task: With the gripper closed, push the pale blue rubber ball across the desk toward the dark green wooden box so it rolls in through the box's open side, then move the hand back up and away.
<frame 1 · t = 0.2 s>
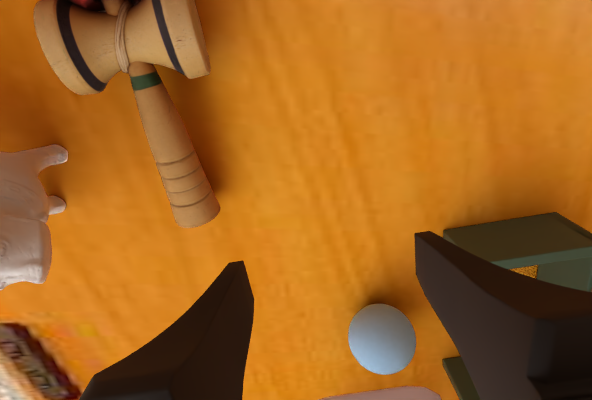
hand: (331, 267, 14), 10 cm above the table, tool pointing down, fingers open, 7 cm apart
kendama: (164, 73, 20), on the table
box: (489, 297, 28), on the table
ball: (381, 337, 26), point 2 cm above the table
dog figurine: (24, 166, 23), on the table
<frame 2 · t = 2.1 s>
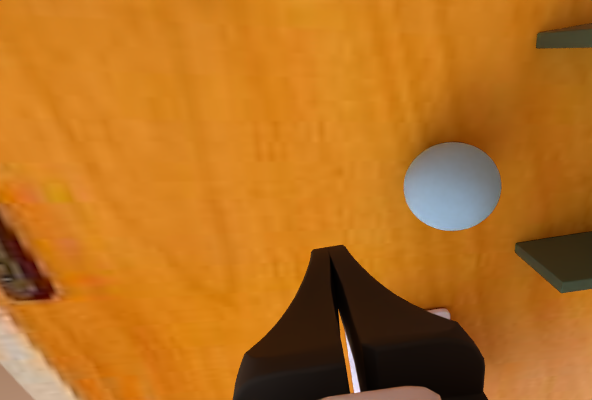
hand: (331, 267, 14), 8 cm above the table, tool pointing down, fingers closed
box: (586, 146, 21), on the table
ball: (449, 186, 19), point 2 cm above the table
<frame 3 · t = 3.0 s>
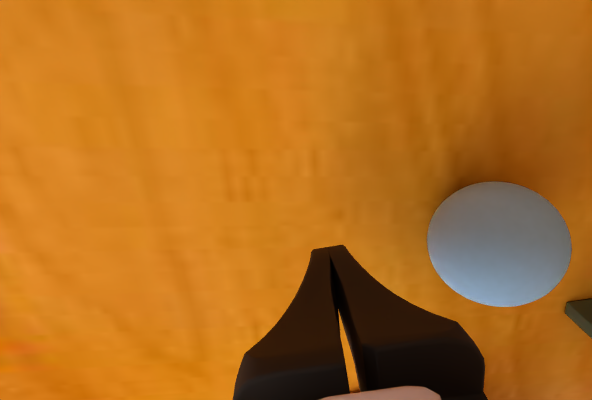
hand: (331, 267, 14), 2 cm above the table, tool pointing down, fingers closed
ball: (492, 242, 14), point 2 cm above the table
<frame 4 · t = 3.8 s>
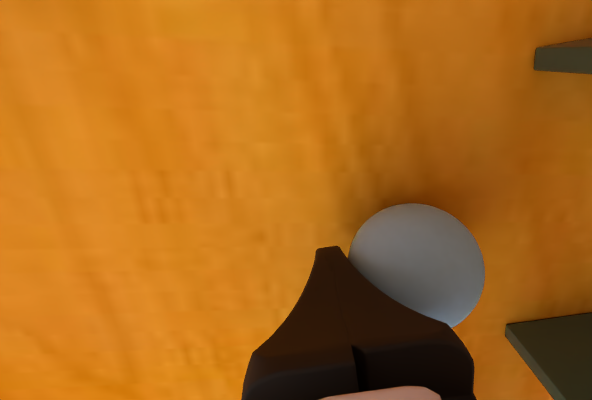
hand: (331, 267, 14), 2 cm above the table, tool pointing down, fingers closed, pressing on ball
ball: (412, 266, 13), point 2 cm above the table, touching gripper
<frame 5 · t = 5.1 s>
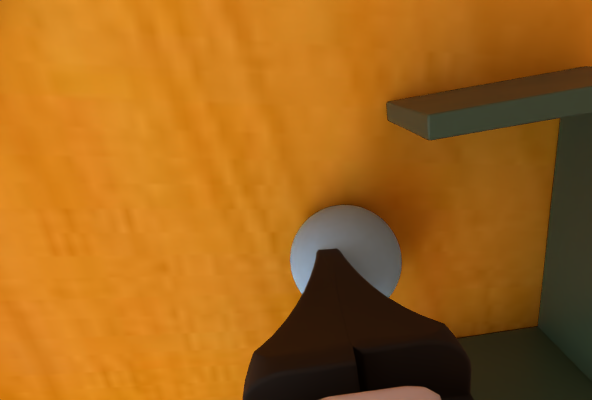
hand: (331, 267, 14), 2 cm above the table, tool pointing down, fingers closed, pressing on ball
box: (473, 236, 17), on the table
ball: (344, 259, 16), point 1 cm above the table, tilted 82°, touching gripper
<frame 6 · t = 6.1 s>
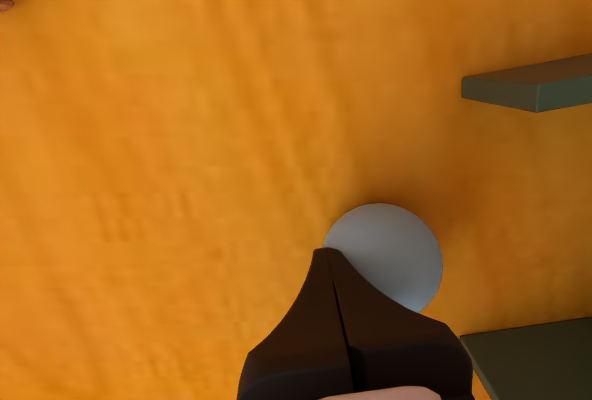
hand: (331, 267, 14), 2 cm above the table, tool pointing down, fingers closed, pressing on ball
box: (542, 221, 16), on the table
ball: (379, 261, 14), point 2 cm above the table, tilted 37°, touching gripper
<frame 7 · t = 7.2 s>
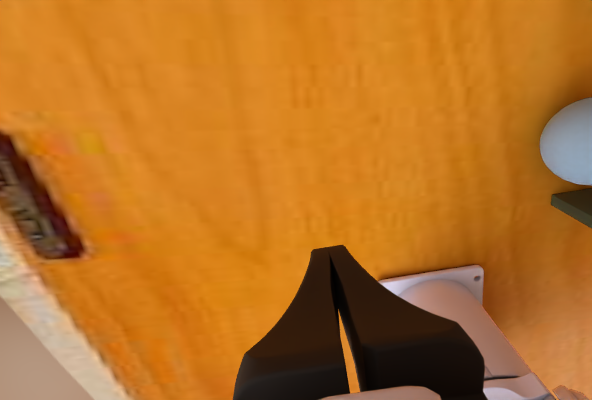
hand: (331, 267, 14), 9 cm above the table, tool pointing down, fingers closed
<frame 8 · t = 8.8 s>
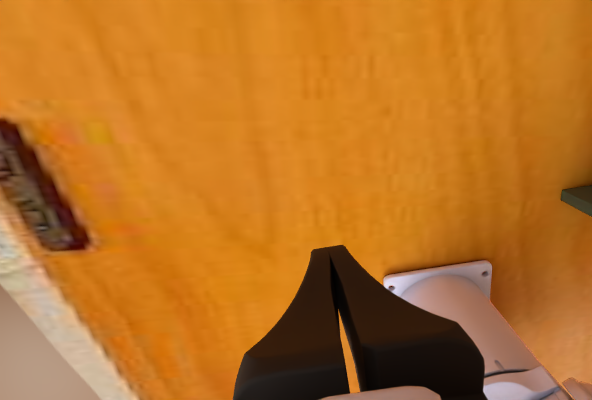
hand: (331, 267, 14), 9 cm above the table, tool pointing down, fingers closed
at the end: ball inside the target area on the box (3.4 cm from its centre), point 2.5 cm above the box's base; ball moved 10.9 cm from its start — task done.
